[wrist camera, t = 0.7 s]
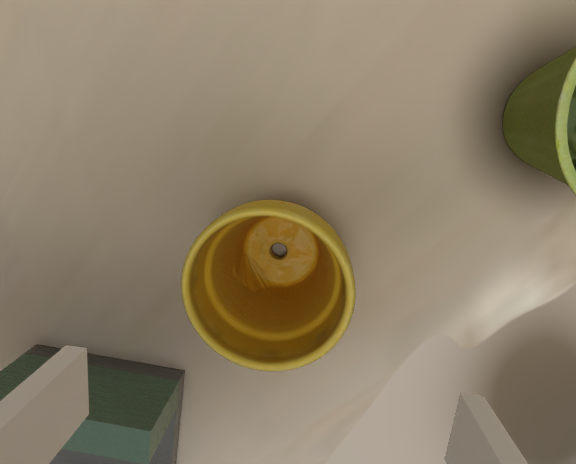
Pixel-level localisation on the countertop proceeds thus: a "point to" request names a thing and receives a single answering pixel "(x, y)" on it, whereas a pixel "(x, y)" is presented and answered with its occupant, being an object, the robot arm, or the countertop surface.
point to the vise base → (115, 409)
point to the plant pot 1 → (269, 286)
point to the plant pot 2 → (546, 119)
